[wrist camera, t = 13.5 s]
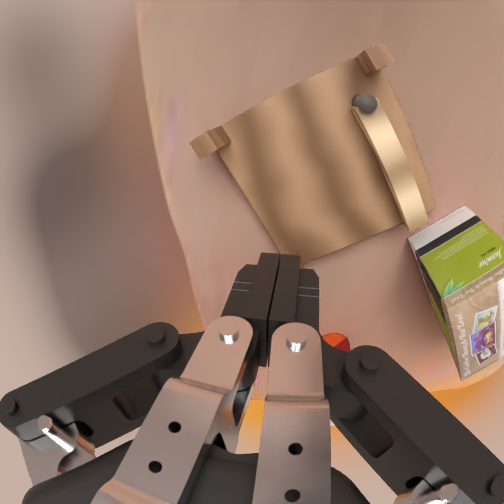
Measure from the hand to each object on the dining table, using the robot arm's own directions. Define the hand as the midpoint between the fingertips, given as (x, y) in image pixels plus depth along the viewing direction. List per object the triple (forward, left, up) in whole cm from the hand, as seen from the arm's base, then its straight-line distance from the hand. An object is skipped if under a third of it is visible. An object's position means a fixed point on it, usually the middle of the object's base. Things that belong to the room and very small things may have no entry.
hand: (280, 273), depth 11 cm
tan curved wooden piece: (-9, +4, -21) cm, 23 cm away
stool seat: (-3, +2, -23) cm, 23 cm away
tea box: (-14, +22, -23) cm, 34 cm away
